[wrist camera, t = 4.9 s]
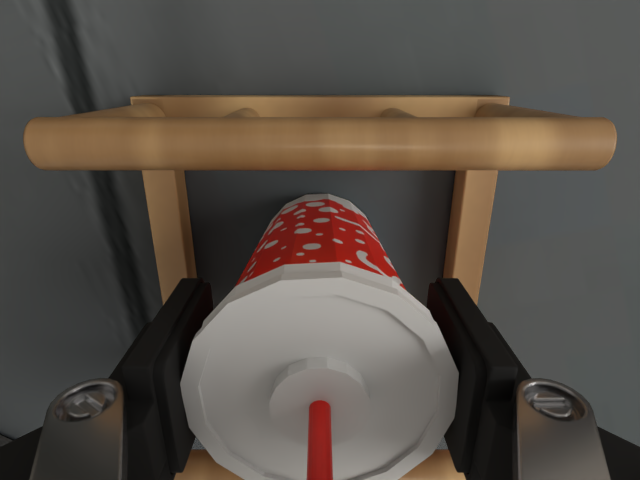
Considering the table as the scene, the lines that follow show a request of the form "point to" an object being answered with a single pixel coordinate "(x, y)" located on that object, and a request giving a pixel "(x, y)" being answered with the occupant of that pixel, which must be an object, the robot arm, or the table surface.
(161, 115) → the cup rack
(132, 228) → the table surface
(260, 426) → the beverage cup
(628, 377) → the table surface
